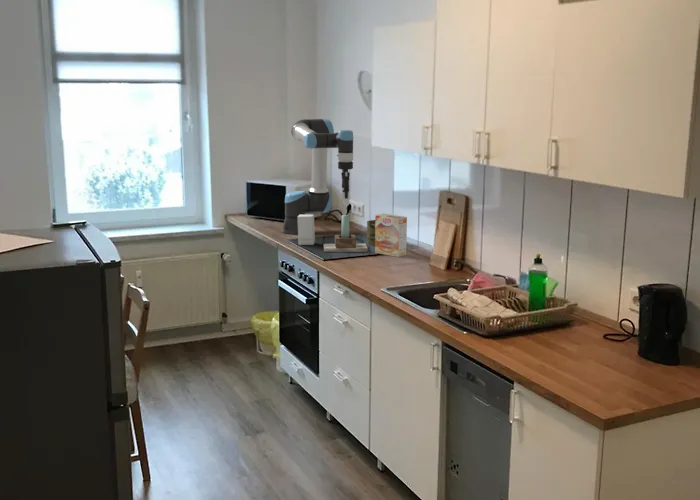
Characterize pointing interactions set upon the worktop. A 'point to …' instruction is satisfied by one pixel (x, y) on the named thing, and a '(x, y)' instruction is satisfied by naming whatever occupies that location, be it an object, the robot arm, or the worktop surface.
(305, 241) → the skincare box
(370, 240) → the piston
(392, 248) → the coffeecake box
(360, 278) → the worktop surface
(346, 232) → the peg
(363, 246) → the socket board
